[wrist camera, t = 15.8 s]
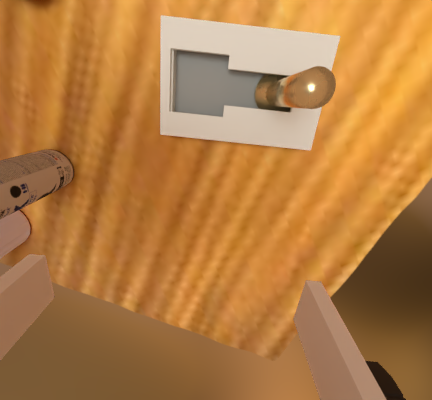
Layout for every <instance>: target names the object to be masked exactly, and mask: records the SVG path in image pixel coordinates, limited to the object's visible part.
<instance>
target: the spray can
mask: <svg viewBox="0 0 432 400" xmlns="http://www.w3.org/2000/svg"><path fill="white" fill-rule="evenodd" d="M73 175H74V169H73V166H72V164H71V162H70V161H69V159H68V158H67V157H66V156H65V155H63V154H62V153H60V152H58V151H55V150H41V151H37V152H33V153H29V154H25V155H21V156H17V157H13V158H9V159H5V160H1V161H0V220H1V219H2V218H4V217H6V216H8V215H10V214H12V213H14V212H16V211H18V210H20V209H22V208H24V207H25V206H27V205H29V204H31V203H33V202H35V201H37V200H39V199H41V198H43V197H45V196H47V195H49V194H51V193H53V192H55V191H56V190H59V189H61V188H62V187H64V186H66V185H67V184H69V183H70V182H71V180H72V179H73Z"/></svg>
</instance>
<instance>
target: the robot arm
mask: <svg viewBox="0 0 432 400" xmlns="http://www.w3.org/2000/svg"><path fill="white" fill-rule="evenodd" d="M54 297H55V296H54V293H53V288H52V284H51V279H50V275H49V270H48V266H47V262H46V257H45V255H35V254H29V255H28V256H26V257H25V258H24V259H22V260H21V261H20V262H19V263H17V264H16V265H15V266H14V267H12V268H11V269H10V270H9V271H7V272H6V273H5V274H3V275H2V276H1V277H0V360H1V359H2V358H3V357H4V355H5V354H6V353H7V352H8V351H9V350H10V348H11V347H12V346H13V345H14V344H15V343H16V341H17V340H18V339H19V338H20V337H21V336H22V334H23V333H24V332H25V331H26V330H27V329H28V328H29V326H30V325H31V324H32V323H33V322H34V321H35V319H36V318H37V317H38V316H39V315H40V313H41V312H42V311H43V310H44V309H45V308H46V306H47V305H48V304H49V303H50V302H51V301H52V300H53V299H54ZM294 322H295V325H296V328H297V331H298V334H299V337H300V340H301V343H302V346H303V349H304V352H305V355H306V358H307V361H308V364H309V367H310V370H311V373H312V376H313V379H314V382H315V385H316V388H317V391H318V394H319V397H320V400H406V399H405V398H403V394H402V393H401V391H400V389H399V388H398V386H397V384H396V383H395V381H394V380H393V378H392V377H391V376H390V375H389V374H388V373H387V372H386V370H385V369H384V368H383V367H382V366H381V365H380V364H379V363H378V362H370V361H365V360H364V358H363V356H362V355H361V353H360V351H359V349H358V348H357V346H356V344H355V342H354V340H353V339H352V337H351V335H350V333H349V332H348V330H347V328H346V326H345V324H344V322H343V321H342V319H341V317H340V315H339V314H338V312H337V310H336V308H335V306H334V304H333V303H332V301H331V299H330V297H329V295H328V294H327V292H326V290H325V288H324V286H323V285H322V283H321V282H318V281H307V280H306V282H305V285H304V288H303V291H302V294H301V298H300V301H299V304H298V307H297V310H296V313H295V316H294Z"/></svg>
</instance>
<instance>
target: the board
mask: <svg viewBox="0 0 432 400" xmlns="http://www.w3.org/2000/svg"><path fill="white" fill-rule="evenodd" d="M339 39H340V36H335V35H326V34H318V33H309V32H300V31H292V30H283V29H274V28H266V27H257V26H248V25H240V24H231V23H223V22H214V21H205V20H197V19H188V18H179V17H171V16H162V15H161V72H160V135H170V136H179V137H188V138H198V139H207V140H217V141H226V142H236V143H245V144H254V145H264V146H273V147H283V148H292V149H302V150H311V147H312V143H313V139H314V136H315V132H316V128H317V124H318V120H319V116H320V112H321V109H322V107H320V108H317V109H305V108H292V107H290V111H289V112H282V111H273V110H263V109H258V107H257V105H256V103H255V98H254V93H255V88H256V85H257V83H258V82H259V80H260V79H261V78H262V77H263V76H264V75H265V74H272V75H281V76H291V75H294V74H296V73H299V72H302V71H304V70H307V69H309V68H312V67H315V66H323V67H326V68H328V69H329V70H330V71H331V70H332V66H333V62H334V59H335V55H336V51H337V47H338V43H339Z"/></svg>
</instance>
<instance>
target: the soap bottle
mask: <svg viewBox="0 0 432 400" xmlns="http://www.w3.org/2000/svg"><path fill="white" fill-rule="evenodd" d="M30 229H31V228H30V224H29V221H28V220H27V218H26V217H25V215H24V214H23V213H22V212H21V211H19V210H18V211H16V212H14V213H12V214H10V215H8V216H6V217H4V218H2V219H1V220H0V258H2V257H3V256H5V255H6V254H7V253H9V252H10V251H12V250H13V249H15V248H16V247H17V246H19V245H20V244H22V243H23V242H25V241H26V240H27V238H28V237H29V235H30Z"/></svg>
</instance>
